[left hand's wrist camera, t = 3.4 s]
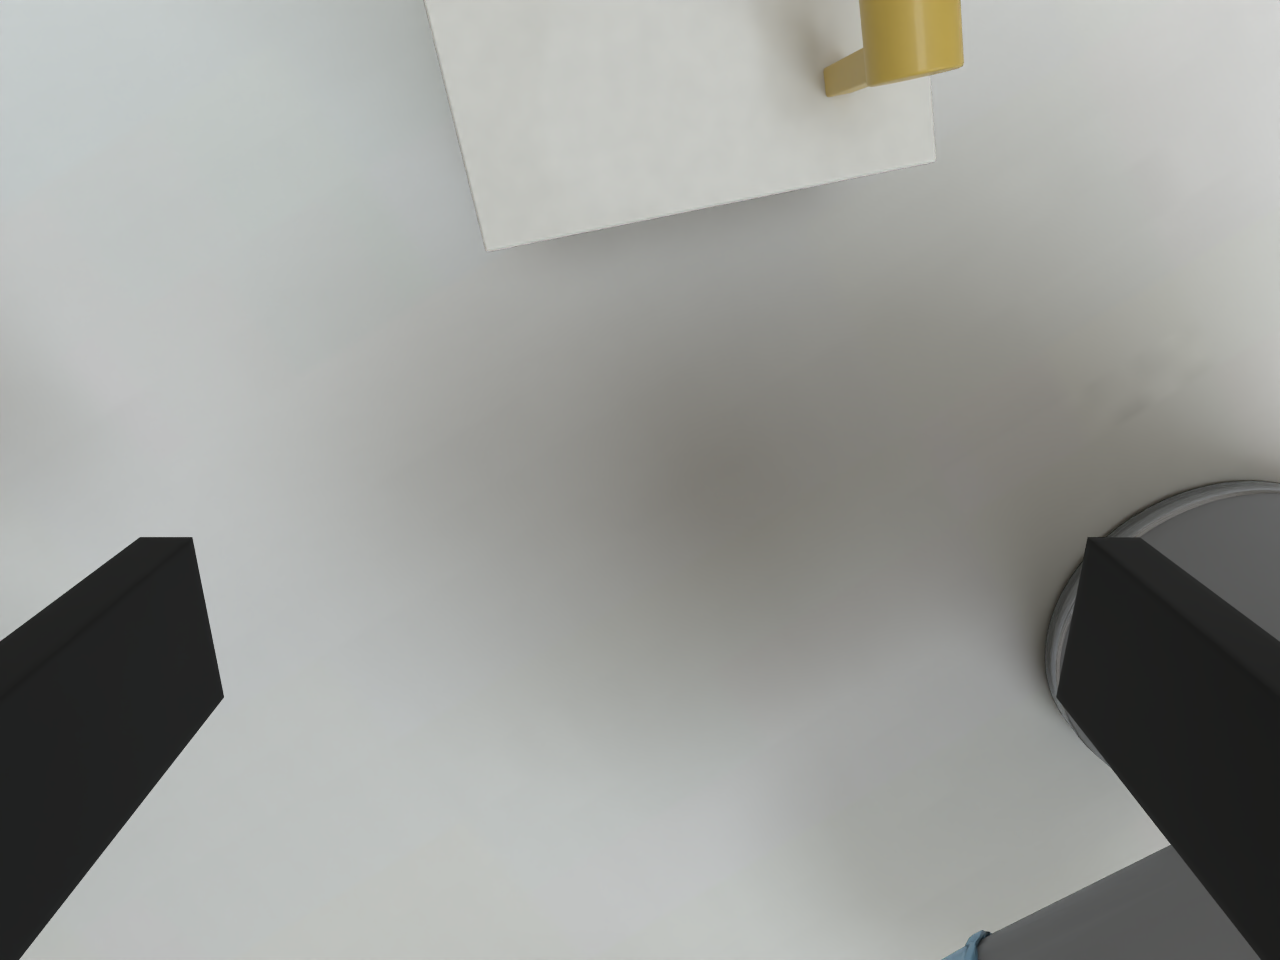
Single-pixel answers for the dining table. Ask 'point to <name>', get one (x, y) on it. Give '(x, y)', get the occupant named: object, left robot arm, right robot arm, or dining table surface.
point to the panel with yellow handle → (681, 102)
